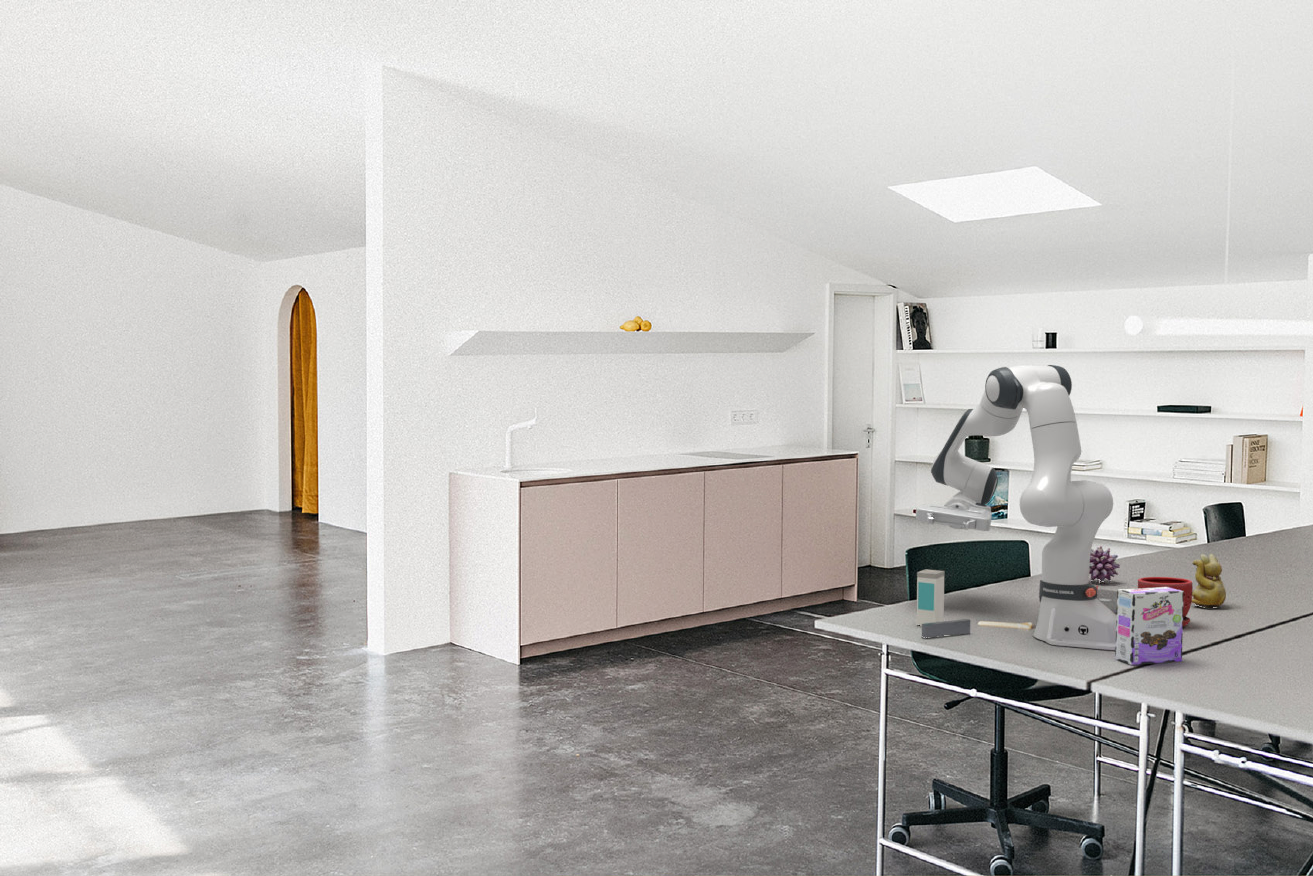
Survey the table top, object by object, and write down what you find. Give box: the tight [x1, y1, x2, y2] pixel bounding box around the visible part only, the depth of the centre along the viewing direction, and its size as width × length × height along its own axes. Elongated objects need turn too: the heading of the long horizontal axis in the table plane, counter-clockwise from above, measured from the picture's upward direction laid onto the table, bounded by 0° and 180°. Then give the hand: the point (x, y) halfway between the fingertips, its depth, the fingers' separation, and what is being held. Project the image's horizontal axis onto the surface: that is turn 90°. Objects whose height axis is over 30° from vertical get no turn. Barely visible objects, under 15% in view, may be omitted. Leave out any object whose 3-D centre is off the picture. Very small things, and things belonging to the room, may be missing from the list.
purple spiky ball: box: [1089, 545, 1121, 582], centre depth 359 cm, size 12×12×12 cm
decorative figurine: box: [1191, 553, 1227, 608], centre depth 321 cm, size 10×8×15 cm
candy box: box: [1114, 587, 1184, 666], centre depth 259 cm, size 14×6×16 cm, turn 105°
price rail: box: [921, 618, 971, 638], centre depth 285 cm, size 2×14×4 cm, turn 115°
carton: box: [916, 568, 946, 627], centre depth 297 cm, size 5×6×14 cm
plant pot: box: [1137, 576, 1194, 627], centre depth 298 cm, size 13×13×12 cm
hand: (947, 523), depth 307 cm, fingers open, 8 cm apart
